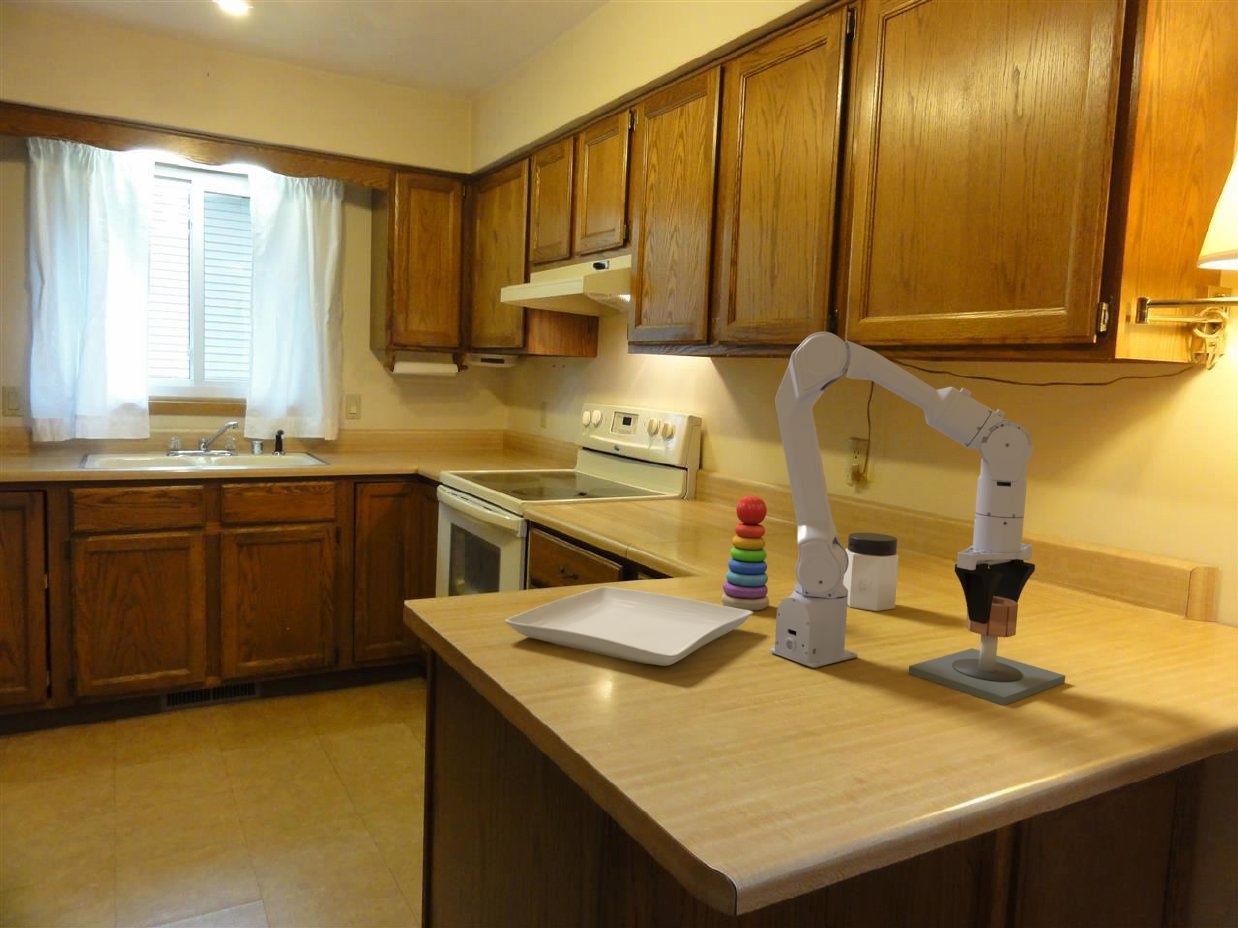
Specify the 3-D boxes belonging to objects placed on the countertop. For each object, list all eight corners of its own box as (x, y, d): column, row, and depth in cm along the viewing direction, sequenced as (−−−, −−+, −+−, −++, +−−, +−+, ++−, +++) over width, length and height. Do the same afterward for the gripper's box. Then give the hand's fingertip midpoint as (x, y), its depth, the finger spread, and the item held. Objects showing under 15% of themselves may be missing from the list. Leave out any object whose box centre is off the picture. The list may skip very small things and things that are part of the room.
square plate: (754, 633, 128) (756, 608, 127) (672, 684, 104) (674, 653, 104) (602, 603, 141) (603, 581, 141) (500, 643, 118) (500, 616, 118)
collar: (999, 639, 105) (1002, 608, 105) (958, 628, 110) (960, 598, 110) (1022, 632, 109) (1025, 602, 108) (981, 622, 113) (984, 593, 113)
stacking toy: (768, 614, 138) (774, 500, 136) (719, 609, 139) (724, 497, 137) (769, 602, 145) (775, 494, 144) (723, 598, 147) (728, 491, 145)
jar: (836, 605, 145) (840, 536, 144) (848, 596, 152) (852, 530, 151) (889, 614, 140) (894, 543, 139) (899, 604, 148) (904, 536, 146)
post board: (1003, 705, 100) (1008, 651, 100) (908, 673, 111) (912, 624, 110) (1064, 682, 109) (1069, 633, 109) (971, 655, 120) (975, 609, 119)
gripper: (999, 523, 100) (990, 634, 102) (1058, 515, 109) (1049, 618, 110) (945, 514, 106) (937, 620, 107) (1006, 508, 115) (998, 605, 116)
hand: (991, 618), depth 109 cm, fingers closed on collar, 6 cm apart
